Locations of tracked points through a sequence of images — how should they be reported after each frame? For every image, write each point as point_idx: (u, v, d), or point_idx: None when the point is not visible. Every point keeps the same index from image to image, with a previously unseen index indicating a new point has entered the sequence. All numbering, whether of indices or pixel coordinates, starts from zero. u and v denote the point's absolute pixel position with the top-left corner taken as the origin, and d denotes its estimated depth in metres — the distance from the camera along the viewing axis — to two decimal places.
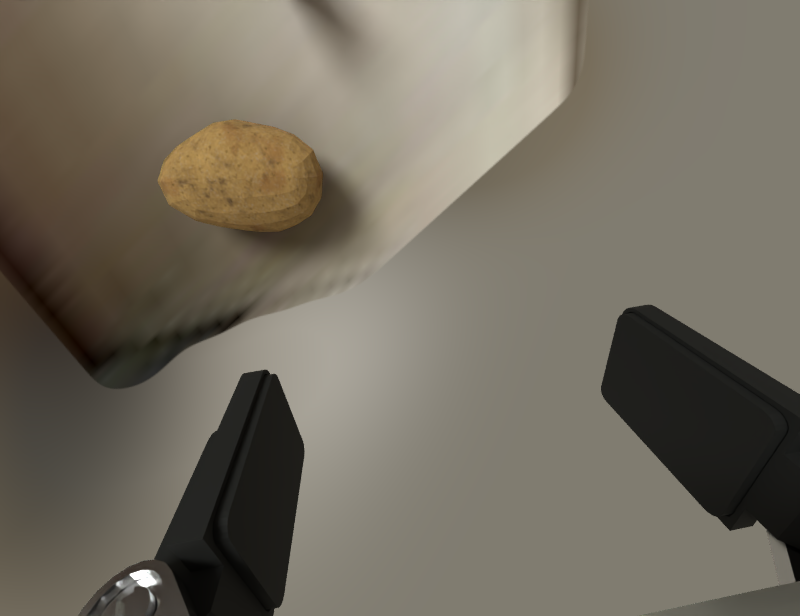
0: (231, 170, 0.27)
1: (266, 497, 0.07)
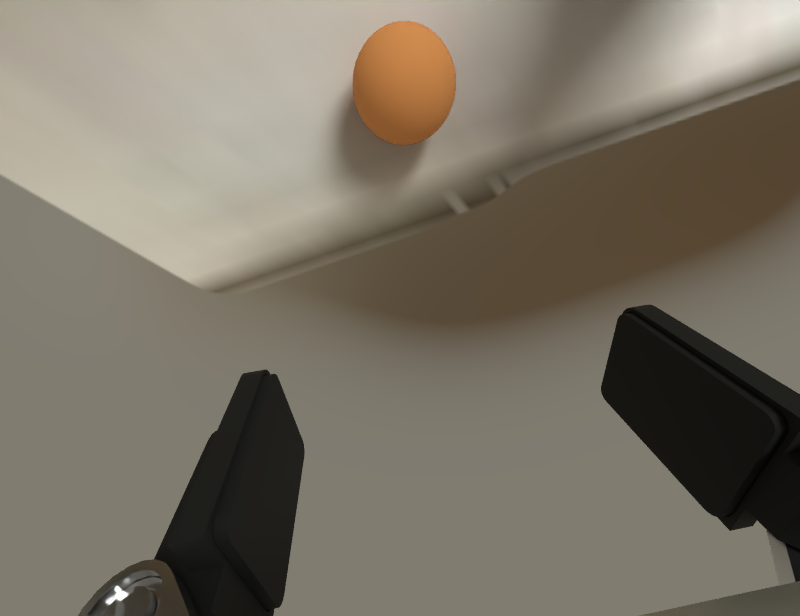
0: None
1: (266, 497, 0.07)
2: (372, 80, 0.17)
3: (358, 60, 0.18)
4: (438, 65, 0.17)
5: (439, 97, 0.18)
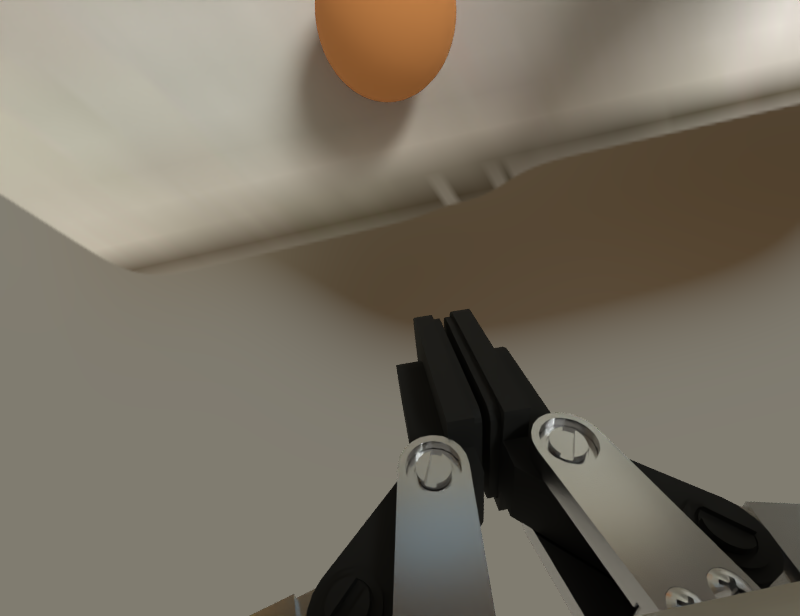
0: None
1: None
2: None
3: None
4: None
5: (430, 31, 0.13)
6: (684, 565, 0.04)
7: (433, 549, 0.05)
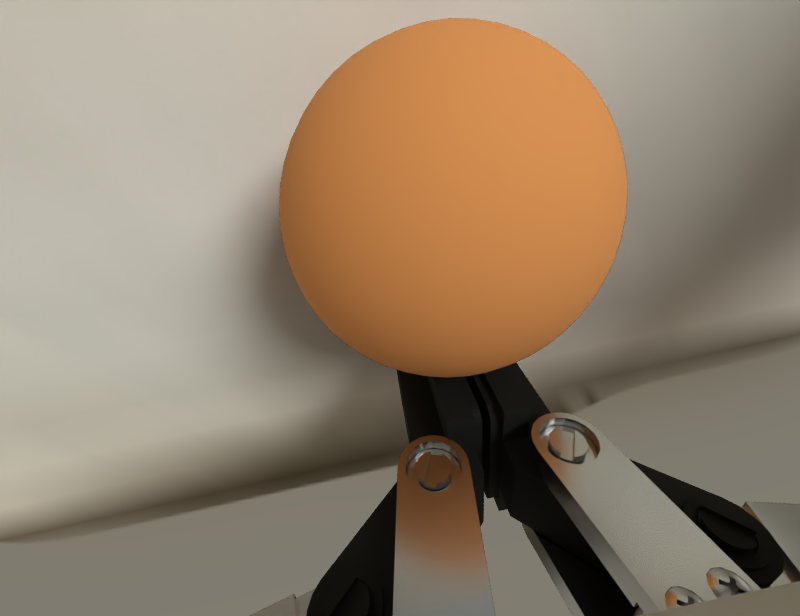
0: None
1: None
2: (325, 172, 0.04)
3: None
4: (607, 154, 0.04)
5: (592, 268, 0.04)
6: (684, 565, 0.04)
7: (433, 549, 0.05)
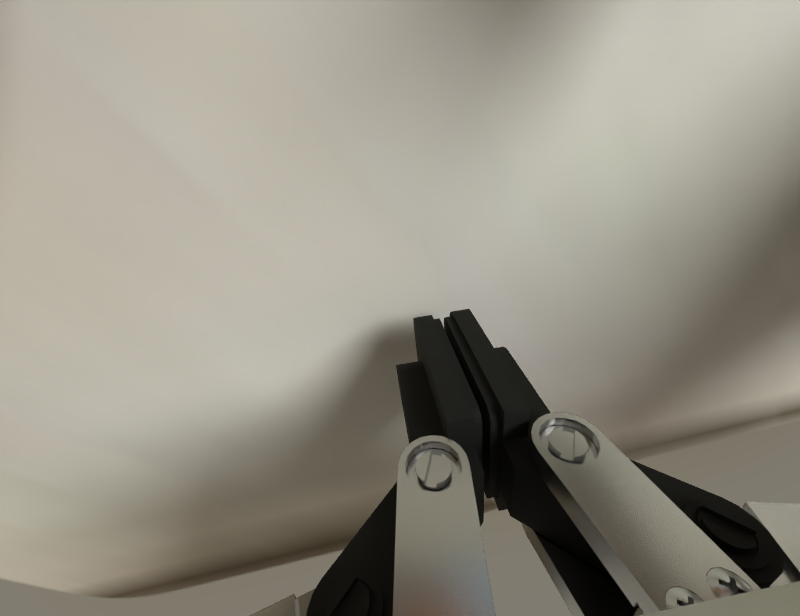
0: None
1: None
2: None
3: None
4: None
5: None
6: (684, 565, 0.04)
7: (433, 549, 0.05)
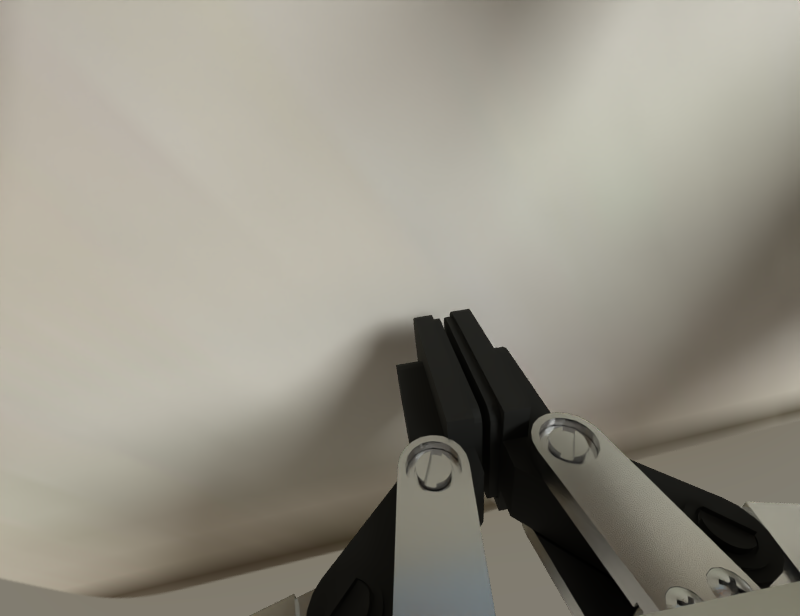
0: None
1: None
2: None
3: None
4: None
5: None
6: (684, 565, 0.04)
7: (433, 549, 0.05)
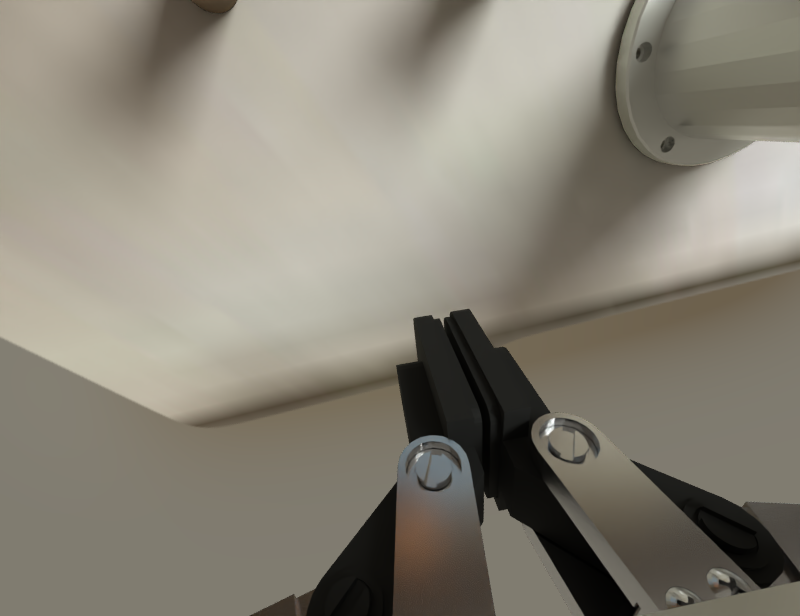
0: None
1: None
2: None
3: None
4: None
5: None
6: (685, 566, 0.04)
7: (433, 549, 0.05)
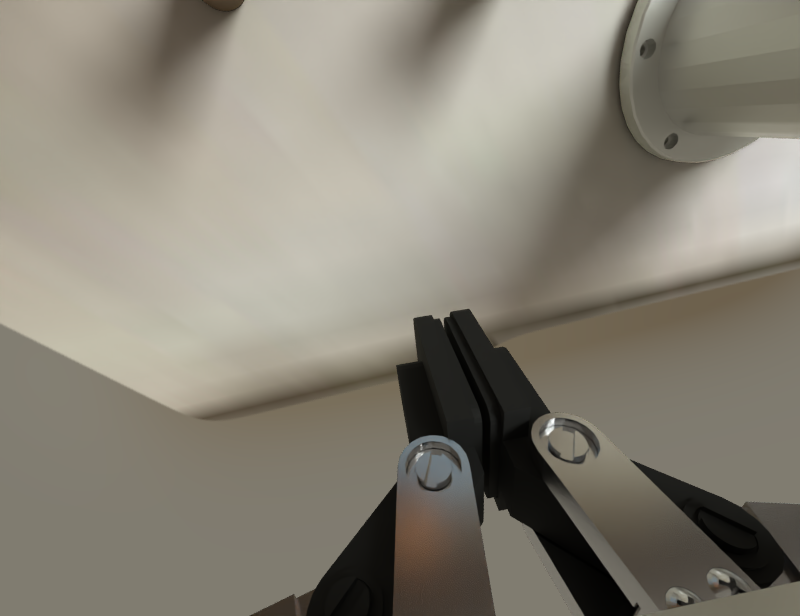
0: None
1: None
2: None
3: None
4: None
5: None
6: (685, 565, 0.04)
7: (433, 549, 0.05)
